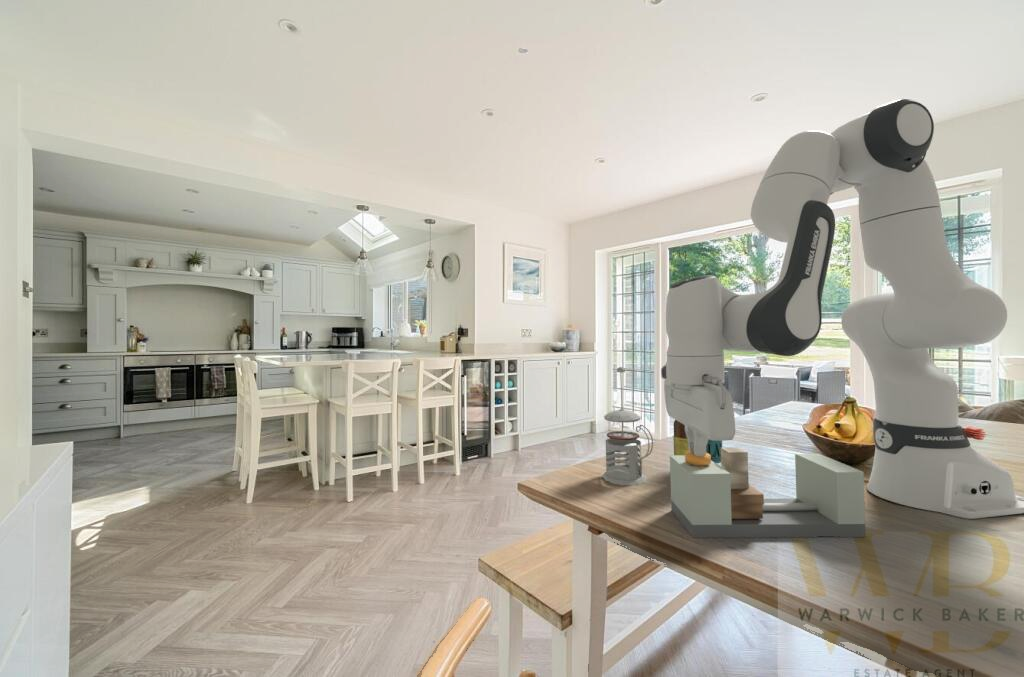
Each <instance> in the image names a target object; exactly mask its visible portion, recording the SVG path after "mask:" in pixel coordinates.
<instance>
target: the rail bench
mask: <svg viewBox="0 0 1024 677" xmlns="http://www.w3.org/2000/svg"><path fill="white" fill-rule="evenodd" d="M794 456H795V458H794V459H795V460H794V461H795V462H794V463H795V492H796V493H795V494H796V495H795V496H796V498H795V497H794V498H764V505H762V506H763V519H732V517H731V483H730V473H729V472H727V471H726V470H724V469H723V468H721V465H718V463H714V462H713V461H711V463H710V464H708V465H703V466H693V464H690V463H687V462H686V461H685V455H674V454H673V455H669V468H670V469H669V471H670V472H669V473H670V474H669V475H670V503H671V504H670V506H671V507H670V508H671V512H672V513H673V514H674V516H675V517H676V518H677V519H678V521H679V522H680V523H681V524H682V526H683V527H684V528H685V529H686V531H687V532H688V534H690V536H691V537H692V538H695V539H698V538H818V537H817V536H840V537H839V538H866V536H867V535H866V507H865V505H866V504H865V472H864V471H862V470H860V469H857V468H855V467H853V466H850V465H847V464H846V463H844V462H843V463H842V462H841V461H838V460H835V459H833V458H830V457H828V456H826V455H822V454H821V453H817V452H816V453H795V454H794ZM815 536H816V537H815Z"/></svg>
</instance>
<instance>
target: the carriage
mask: <svg viewBox="0 0 1024 677" xmlns="http://www.w3.org/2000/svg"><path fill="white" fill-rule="evenodd" d="M748 455H749V453H748V451H746V450H744V449H743V448H740V447H739V446H734V447H733V446H731V447H723V446H722V447H721V463H720V467H721V468H723V469H724V470H726V471H727V472H729V473H730V483H731V517H732V519H763V506H762V505H764V499H765V497H764V495H765V494H763V493H762V492H761V491H759V490H758V489H756V488H755V487H753V486H752V485H750V484H749V456H748Z"/></svg>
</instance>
